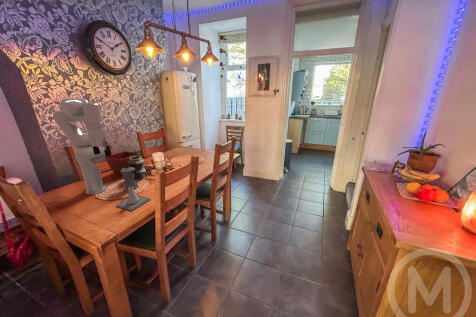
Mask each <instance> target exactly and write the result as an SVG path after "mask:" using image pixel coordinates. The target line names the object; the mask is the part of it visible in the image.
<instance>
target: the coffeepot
mask: <svg viewBox="0 0 476 317" xmlns="http://www.w3.org/2000/svg"><path fill="white" fill-rule="evenodd" d="M120 171H121V173H122V175H123V176H122V178H123V179H124V190H125V191H126V190H127V192H129V190H128V188H129V187H134V188H133V190H134V189H135V190H137V189H138V188H139V184H138V182H137V180H136V179H137V172H136V171H135V168H134V167H129V168H128V166H126V168H123V169H122V170H120ZM137 187H138V188H137ZM136 188H137V189H136ZM135 190H134V191H135Z"/></svg>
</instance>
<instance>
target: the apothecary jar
mask: <svg viewBox="0 0 476 317" xmlns="http://www.w3.org/2000/svg"><path fill="white" fill-rule="evenodd" d="M144 163H145V160H144V158H142V156H141V155H139V156H133V157H130V160H129V161H128V164H129V165H130V167H134V168H135V171H136V172H137V179H136V181H138V180H143V179H145V177H146V175H145V173H146V171H147V170H146V169H145V167H144Z"/></svg>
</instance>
